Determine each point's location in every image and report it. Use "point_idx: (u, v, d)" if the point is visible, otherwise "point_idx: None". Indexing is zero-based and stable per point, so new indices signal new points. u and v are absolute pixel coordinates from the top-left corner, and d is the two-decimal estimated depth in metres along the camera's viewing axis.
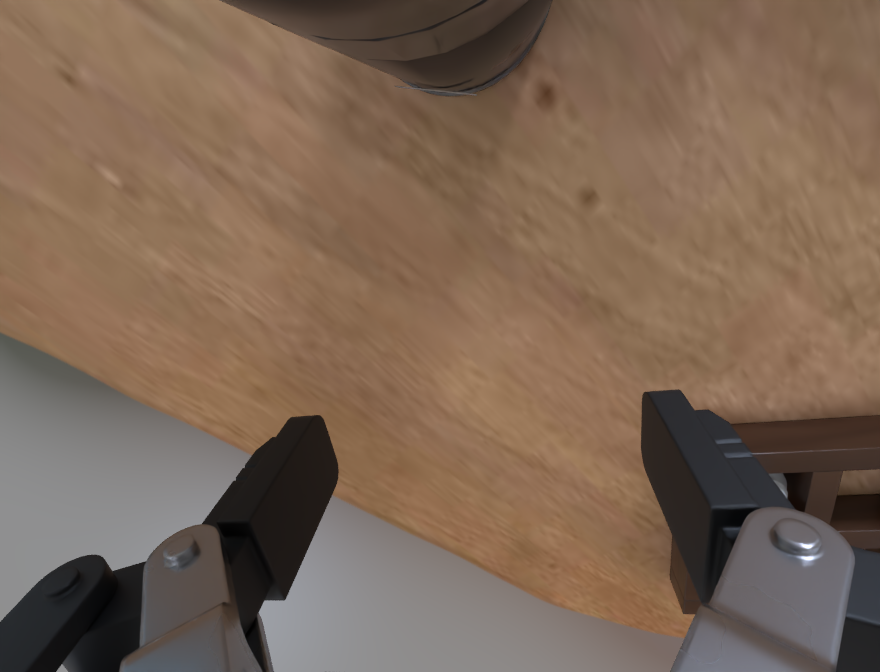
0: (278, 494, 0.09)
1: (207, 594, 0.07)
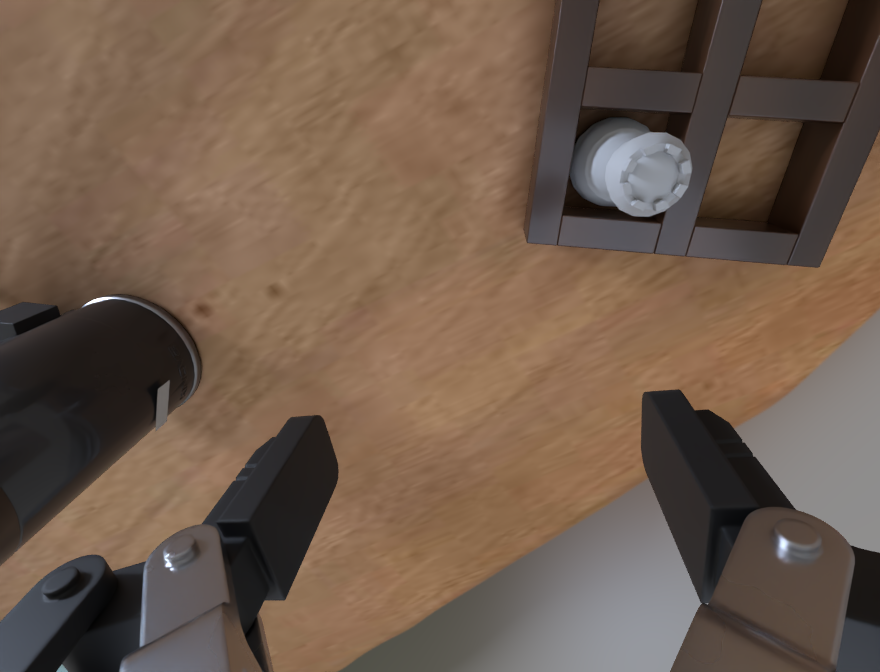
0: (278, 494, 0.09)
1: (207, 594, 0.07)
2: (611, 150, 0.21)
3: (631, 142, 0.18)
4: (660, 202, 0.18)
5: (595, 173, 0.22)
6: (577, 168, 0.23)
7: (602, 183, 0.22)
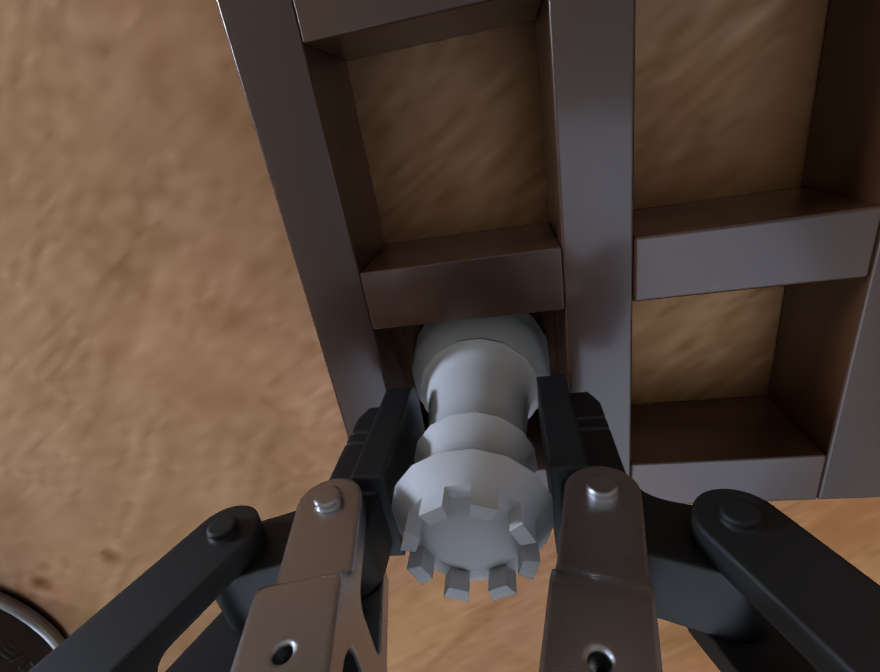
0: (396, 455, 0.10)
1: (337, 553, 0.07)
2: (434, 405, 0.12)
3: (411, 474, 0.09)
4: (497, 584, 0.09)
5: None
6: (419, 393, 0.14)
7: None
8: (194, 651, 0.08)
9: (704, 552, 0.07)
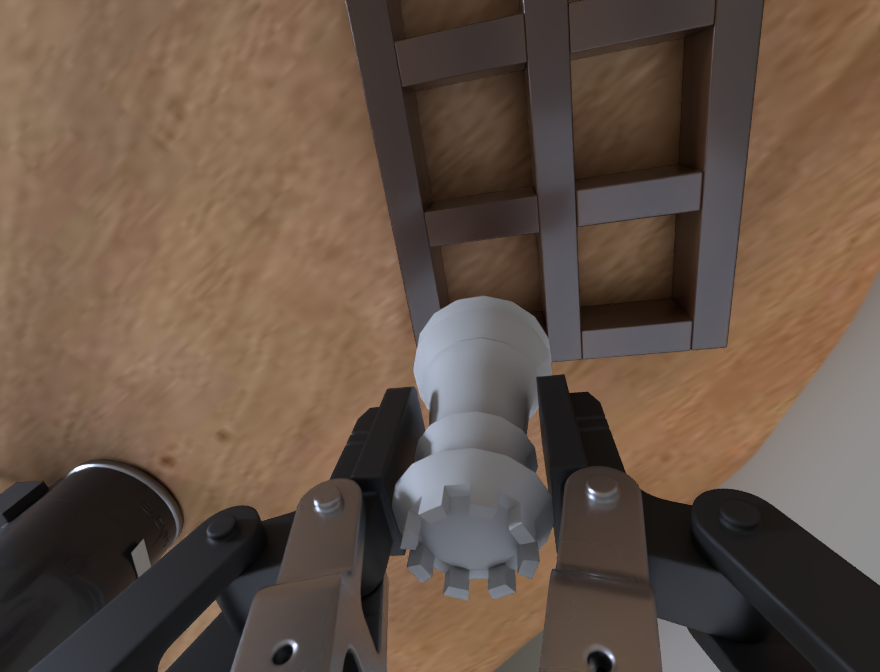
0: (396, 455, 0.10)
1: (338, 553, 0.07)
2: (435, 404, 0.12)
3: (411, 472, 0.09)
4: (496, 583, 0.09)
5: None
6: (420, 392, 0.14)
7: None
8: (194, 651, 0.08)
9: (704, 553, 0.07)
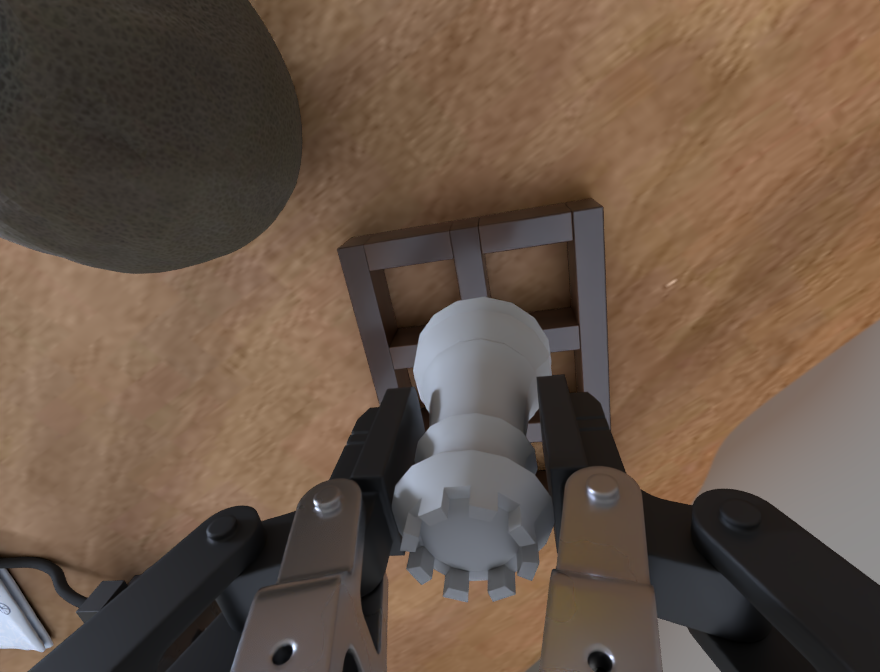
0: (396, 455, 0.10)
1: (337, 553, 0.07)
2: (435, 405, 0.12)
3: (410, 474, 0.09)
4: (496, 585, 0.09)
5: None
6: (420, 393, 0.14)
7: None
8: (194, 651, 0.08)
9: (704, 553, 0.07)
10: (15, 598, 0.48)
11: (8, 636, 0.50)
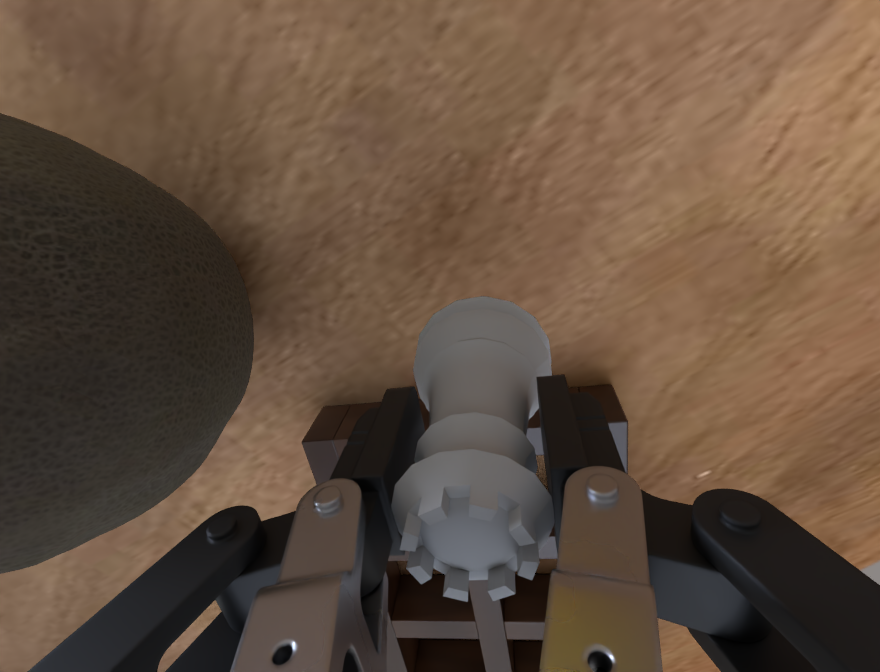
0: (396, 455, 0.10)
1: (337, 553, 0.07)
2: (435, 404, 0.12)
3: (410, 473, 0.09)
4: (496, 584, 0.09)
5: None
6: (420, 393, 0.14)
7: None
8: (194, 651, 0.08)
9: (704, 552, 0.07)
10: None
11: None
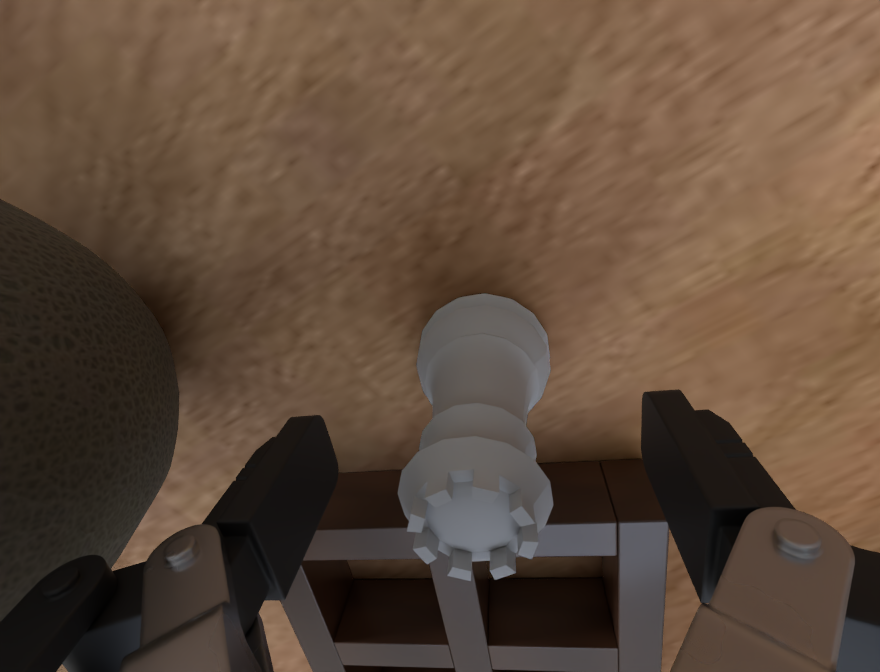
0: (278, 494, 0.09)
1: (207, 594, 0.07)
2: (438, 396, 0.12)
3: (416, 459, 0.09)
4: (497, 564, 0.09)
5: None
6: (423, 387, 0.15)
7: None
8: None
9: None
10: None
11: None
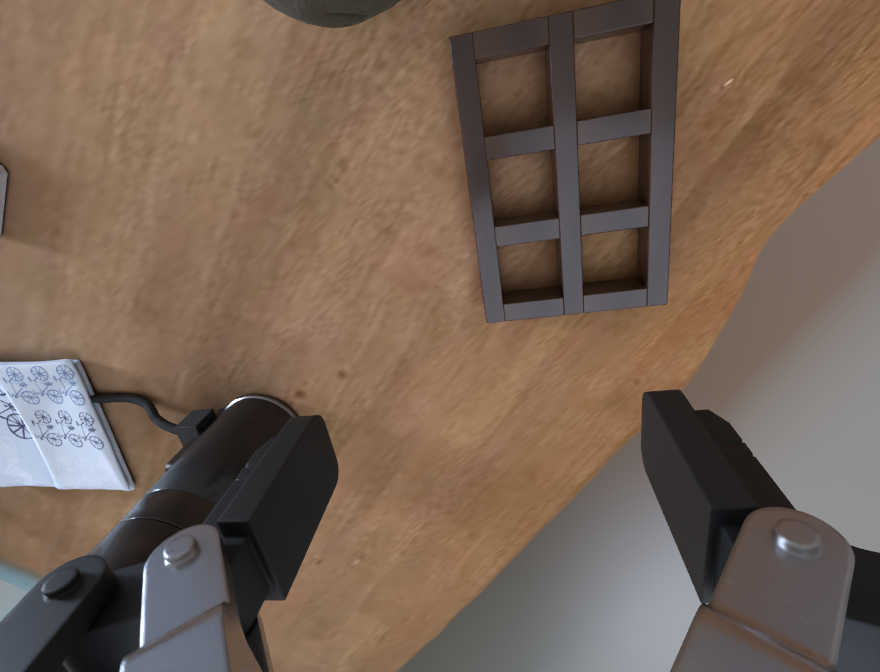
0: (278, 494, 0.09)
1: (207, 594, 0.07)
2: None
3: None
4: None
5: None
6: None
7: None
8: None
9: None
10: (107, 436, 0.54)
11: (97, 475, 0.56)
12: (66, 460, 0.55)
